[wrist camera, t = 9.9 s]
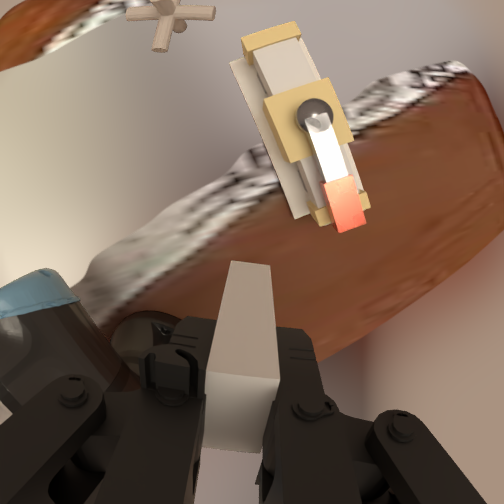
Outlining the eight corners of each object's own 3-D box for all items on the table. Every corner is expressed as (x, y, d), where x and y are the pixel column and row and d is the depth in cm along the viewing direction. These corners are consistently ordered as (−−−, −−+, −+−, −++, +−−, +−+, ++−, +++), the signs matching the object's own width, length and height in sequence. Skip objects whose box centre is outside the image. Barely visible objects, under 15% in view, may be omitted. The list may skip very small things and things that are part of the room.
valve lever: (360, 217, 28) (368, 222, 26) (331, 227, 29) (336, 233, 27) (321, 97, 25) (326, 93, 23) (289, 107, 25) (292, 103, 23)
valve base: (293, 216, 38) (304, 238, 29) (229, 65, 33) (220, 40, 24) (360, 191, 37) (390, 204, 28) (299, 41, 31) (312, 11, 22)
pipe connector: (134, 61, 32) (99, 39, 23) (151, -4, 29) (124, -37, 20) (211, 64, 33) (196, 37, 23) (226, -3, 29) (217, -43, 20)
